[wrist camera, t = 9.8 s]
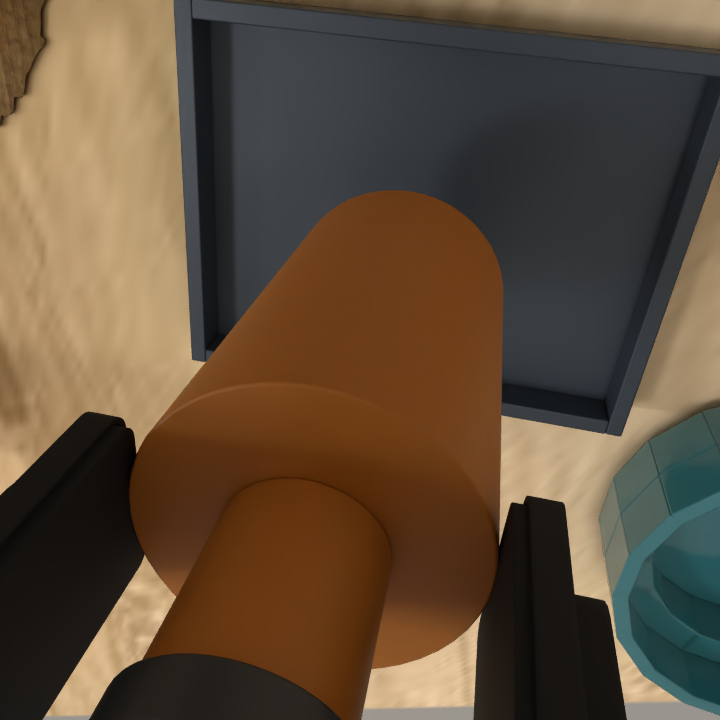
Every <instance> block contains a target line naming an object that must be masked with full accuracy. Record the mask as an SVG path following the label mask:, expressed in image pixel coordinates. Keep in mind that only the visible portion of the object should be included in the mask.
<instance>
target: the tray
mask: <svg viewBox="0 0 720 720" xmlns="http://www.w3.org/2000/svg"><path fill="white" fill-rule="evenodd" d="M174 16H175V36H176V55H177V75H178V94H179V114H180V134H181V153H182V173H183V192H184V212H185V231H186V251H187V270H188V290H189V310H190V329H191V349H192V360H196V361H202V362H206V361H207V360H208V359H209V358H210V356H211V355H212V354H213V353H214V351H215V350H216V349H217V348H218V346H219V345H220V344H221V343H222V341H223V340H224V339H225V338H226V336H227V335H228V334H229V333H230V331H231V330H232V329H233V328H234V326H235V325H236V324H237V323H238V321H239V320H240V319H241V318H242V316H243V315H244V314H245V313H246V311H247V310H248V309H249V308H250V306H251V305H252V304H253V303H254V301H255V300H256V299H257V298H258V296H259V295H260V294H261V293H262V291H263V290H264V289H265V288H266V286H267V285H268V284H269V283H270V281H271V280H272V279H273V278H274V276H275V275H276V274H277V273H278V271H279V270H280V269H281V268H282V266H283V265H284V264H285V263H286V261H287V260H288V259H289V258H290V256H291V255H292V254H293V253H294V251H295V250H296V249H297V248H298V246H299V245H300V244H301V243H302V241H303V240H304V239H305V238H306V236H307V235H308V234H309V233H310V231H311V230H312V229H313V228H314V227H315V225H316V224H317V223H318V222H319V221H320V220H321V219H322V218H323V217H324V216H325V215H326V214H327V213H328V212H329V211H331V210H332V209H334V208H335V207H337V206H338V205H340V204H342V203H344V202H345V201H347V200H349V199H351V198H354V197H357V196H360V195H363V194H366V193H371V192H376V191H386V190H401V191H411V192H416V193H421V194H425V195H427V196H430V197H433V198H436V199H439V200H441V201H443V202H445V203H447V204H449V205H451V206H452V207H454V208H455V209H457V210H458V211H460V212H461V213H463V214H464V215H465V216H466V217H467V218H468V219H469V220H471V221H472V222H473V223H474V224H475V225H476V226H477V228H478V229H479V230H480V231H481V232H482V233H483V235H484V236H485V238H486V239H487V241H488V242H489V244H490V245H491V247H492V249H493V251H494V253H495V256H496V258H497V260H498V263H499V267H500V270H501V274H502V281H503V346H502V405H501V415H503V416H509V417H514V418H520V419H525V420H531V421H536V422H542V423H547V424H553V425H559V426H564V427H570V428H575V429H581V430H586V431H592V432H598V433H603V434H604V433H605V432H606V434H609V435H615V436H621V435H622V432H623V430H624V427H625V424H626V421H627V418H628V416H629V413H630V410H631V407H632V404H633V401H634V399H635V396H636V393H637V390H638V387H639V384H640V382H641V379H642V376H643V373H644V370H645V367H646V365H647V362H648V359H649V356H650V353H651V351H652V348H653V345H654V342H655V339H656V336H657V334H658V331H659V328H660V325H661V322H662V319H663V317H664V314H665V311H666V308H667V305H668V302H669V300H670V297H671V294H672V291H673V288H674V285H675V283H676V280H677V277H678V274H679V271H680V269H681V266H682V263H683V260H684V257H685V254H686V252H687V249H688V246H689V243H690V240H691V237H692V235H693V232H694V229H695V226H696V223H697V220H698V218H699V215H700V212H701V209H702V206H703V204H704V201H705V198H706V195H707V192H708V189H709V187H710V184H711V181H712V178H713V175H714V172H715V170H716V167H717V164H718V161H719V158H720V49H712V48H703V47H693V46H684V45H674V44H665V43H656V42H646V41H637V40H627V39H618V38H609V37H599V36H590V35H580V34H571V33H562V32H552V31H543V30H533V29H524V28H514V27H505V26H496V25H486V24H477V23H467V22H458V21H449V20H439V19H430V18H420V17H411V16H402V15H392V14H383V13H373V12H364V11H355V10H345V9H336V8H326V7H317V6H307V5H298V4H289V3H279V2H270V1H260V0H174Z"/></svg>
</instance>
